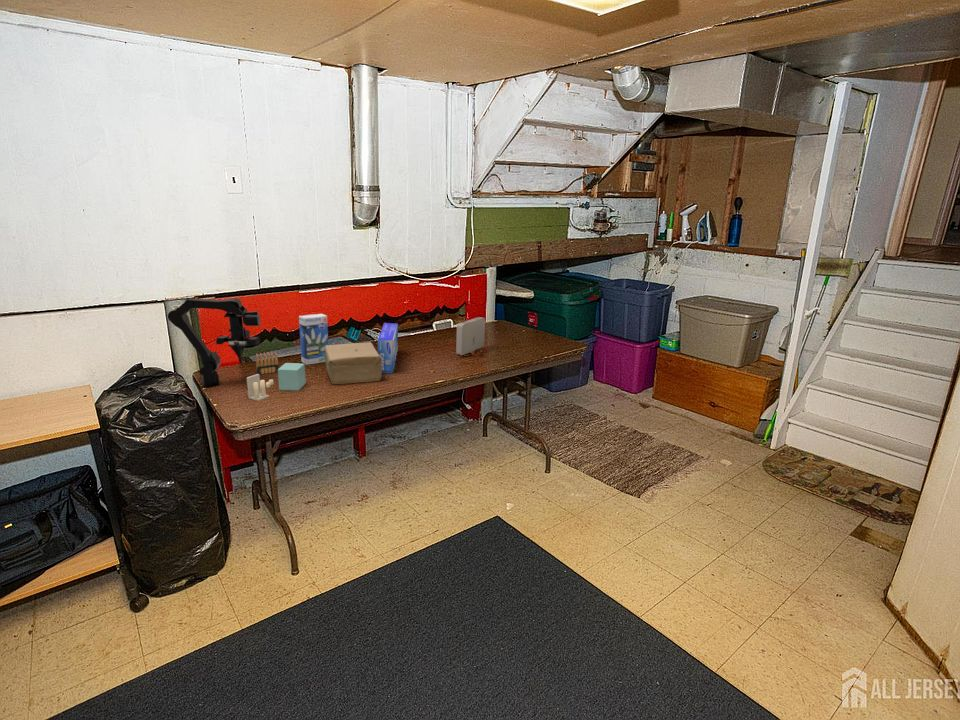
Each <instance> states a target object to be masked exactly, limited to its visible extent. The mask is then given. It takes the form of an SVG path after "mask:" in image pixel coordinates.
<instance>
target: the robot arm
mask: <svg viewBox="0 0 960 720" xmlns="http://www.w3.org/2000/svg"><path fill="white" fill-rule="evenodd" d="M192 309H207V310H209V309H210V310H219V311H223V312H226V313H225V314H224V315H223V318H228V322H229V328H228V332H230V335H220V336H218V337H217V338H215V344H216V345H223V344H225V343H228V347H230V348H231V349H232V351H233V352H234V353H235V355H236V356H237V358H238V359H242V357H243V353H244V349H245V347H246V346H253V347H254V346H257V345H259V344H260V343H261V339H260V337H259V336H251V335H250V333H251V331H250V330H248V329H246V327H260V326H261V317H260V313H259V311H258V310H255V311H248V309H247V308H246V307H245V306H244V305H243V302H242V301H241V300H240V299H239V298H236V297H235V298H227V299H226V298H225V299H208V298H207V299H205V298H204V299H203V298H193V297H190V298H188V299H186V300H185V301H184V302H183V303H182V304H181V305H179V306H178V307H175V308H174V309H172V310H170V311H168V314H167V319H168V321H169V322H171V324H172V325H174V326H175V327H177V328H178V329H180V330H181V332H182V333H183V334H184V336H185V337H186V339H187V340H188V341H189V342H190V344H191V346H192V347H193V348H194V349H195V351H196V352H197V353H198V356H199V357H200V361H201V363H202V368H201V369H200V370H198V372H199V374H200V377H201V383H200V385H202V386H203V387H204V388H211V387H214V386H215V387H216V386H220V377H219V376H220V375H219V374H218V372H217V369H218V368H219V367H220V365H221V364H222V363H221V362H222V360H221V356H220V355H218V353H217V351H216V350H214V351H212V350H210V349H209V348H208V346H207V345H206V344H205V342H204V341H203V340H202V338H201V337H200V335H199V333H197V331H196V330H195V328H194V327H193V326H192V324H191V322H190V317H189V315H188V313H189V312H190V311H191V310H192Z"/></svg>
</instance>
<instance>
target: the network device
mask: <svg viewBox="0 0 960 720" xmlns="http://www.w3.org/2000/svg"><path fill="white" fill-rule="evenodd" d="M485 335H486V318H485V317H480V316H479V317H474V318H472V319H469V320H465V321H462V322H459V323H457V325H456V339H455V340H456V341H455V343H456V347H455V349H456V350H455V352H456V353H455V354H456V355H457V354H460V355H464V356H465V355H467V354H468V353H469V352H472V351H474V352H475V351H477V350H476V349H481V348H483V347H484V346H485V339H486V337H485Z"/></svg>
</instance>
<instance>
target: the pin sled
mask: <svg viewBox="0 0 960 720" xmlns="http://www.w3.org/2000/svg"><path fill="white" fill-rule="evenodd" d="M260 376H261V375H259V374H253V375H250V376H248V377H246V385H247V394H248V395H247V396H248V399H250V400H254V401H256V402H259V401H263V400H265V399H267V398H269V397H270V396H269V394H267V392H266V382H265V379H261V378H260Z"/></svg>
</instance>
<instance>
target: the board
mask: <svg viewBox="0 0 960 720" xmlns="http://www.w3.org/2000/svg"><path fill="white" fill-rule="evenodd" d="M272 385H273V386H274V379H273V378H271V379H268V381H266V382H265V389H266V388H271V386H272Z"/></svg>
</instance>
